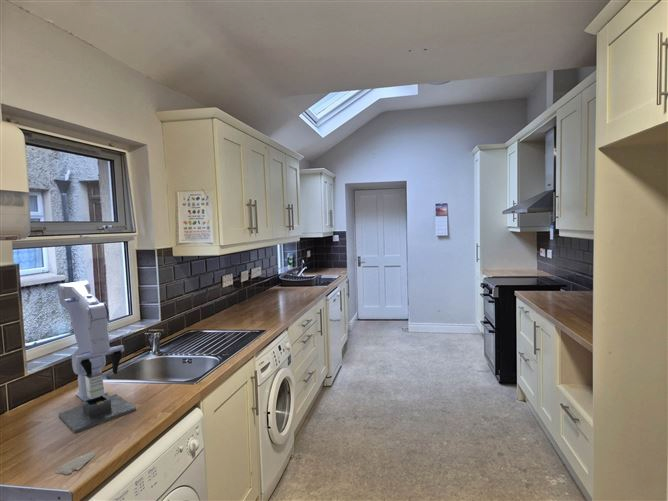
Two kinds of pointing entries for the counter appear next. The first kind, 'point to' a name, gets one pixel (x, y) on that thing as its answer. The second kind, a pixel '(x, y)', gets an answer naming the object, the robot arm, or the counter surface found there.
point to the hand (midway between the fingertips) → (103, 376)
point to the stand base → (96, 412)
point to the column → (94, 385)
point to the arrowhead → (75, 464)
